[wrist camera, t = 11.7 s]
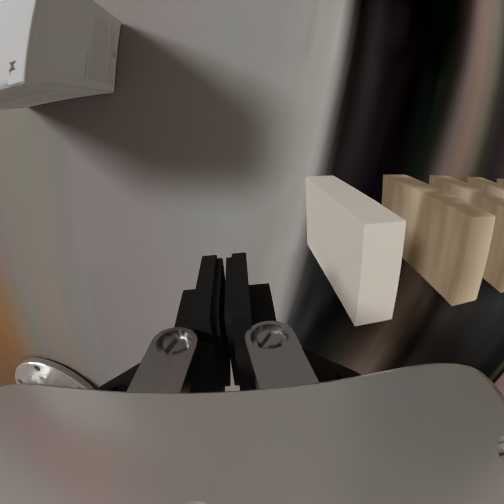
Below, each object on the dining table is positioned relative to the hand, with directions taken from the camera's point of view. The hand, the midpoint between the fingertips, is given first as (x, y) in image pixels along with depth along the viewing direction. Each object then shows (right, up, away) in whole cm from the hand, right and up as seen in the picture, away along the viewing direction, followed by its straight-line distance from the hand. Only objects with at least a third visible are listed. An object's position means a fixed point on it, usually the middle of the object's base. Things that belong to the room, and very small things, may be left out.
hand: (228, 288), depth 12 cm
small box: (-12, +15, +4) cm, 19 cm away
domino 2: (+12, +5, +10) cm, 16 cm away
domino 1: (+6, +4, +10) cm, 12 cm away
